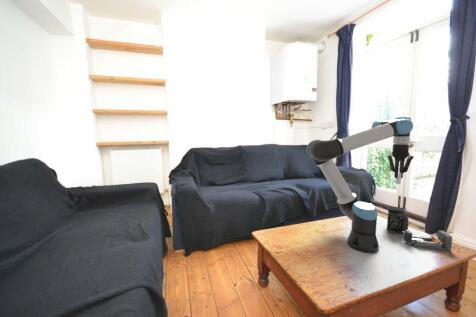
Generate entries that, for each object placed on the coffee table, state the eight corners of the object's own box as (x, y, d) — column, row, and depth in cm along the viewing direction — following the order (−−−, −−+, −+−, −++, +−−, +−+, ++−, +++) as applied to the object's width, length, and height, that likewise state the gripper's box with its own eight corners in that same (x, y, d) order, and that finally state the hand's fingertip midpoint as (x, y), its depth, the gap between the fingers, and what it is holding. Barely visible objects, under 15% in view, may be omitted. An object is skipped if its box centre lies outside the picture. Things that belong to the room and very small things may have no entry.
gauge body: (414, 247, 116) (416, 233, 115) (408, 240, 122) (409, 227, 121) (450, 251, 111) (452, 236, 110) (442, 244, 118) (443, 230, 117)
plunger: (407, 242, 118) (408, 233, 117) (404, 239, 121) (404, 230, 121) (424, 244, 116) (425, 234, 115) (420, 241, 119) (421, 231, 118)
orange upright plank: (437, 247, 113) (438, 241, 112) (429, 241, 119) (430, 235, 119) (441, 247, 112) (441, 241, 112) (433, 241, 119) (433, 235, 119)
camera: (407, 237, 127) (409, 213, 125) (386, 232, 133) (388, 209, 131) (407, 230, 135) (409, 208, 133) (387, 226, 141) (388, 204, 140)
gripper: (390, 144, 121) (387, 184, 124) (417, 144, 117) (414, 185, 120) (385, 143, 128) (382, 181, 131) (410, 143, 125) (407, 182, 127)
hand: (397, 183), depth 126 cm, fingers closed
